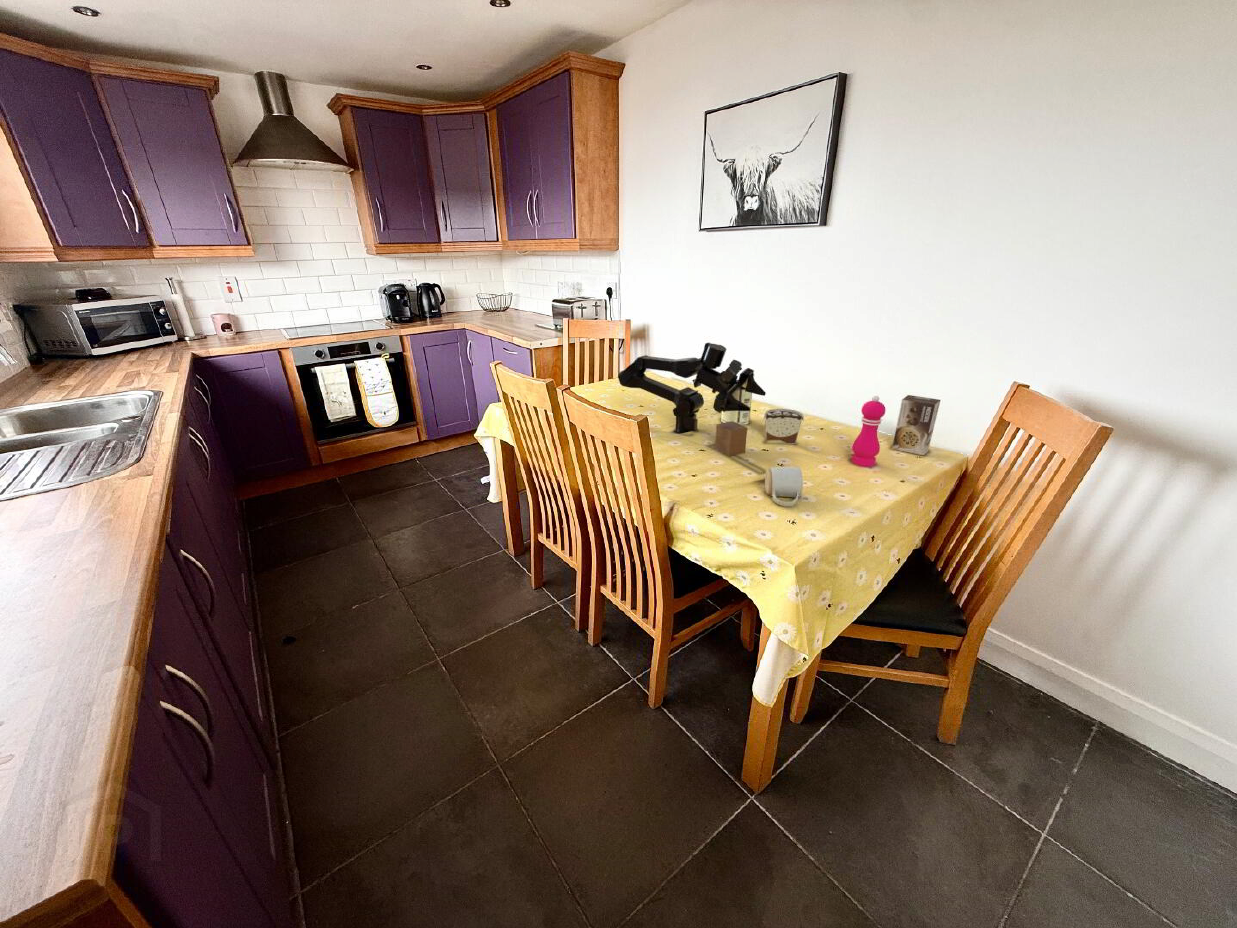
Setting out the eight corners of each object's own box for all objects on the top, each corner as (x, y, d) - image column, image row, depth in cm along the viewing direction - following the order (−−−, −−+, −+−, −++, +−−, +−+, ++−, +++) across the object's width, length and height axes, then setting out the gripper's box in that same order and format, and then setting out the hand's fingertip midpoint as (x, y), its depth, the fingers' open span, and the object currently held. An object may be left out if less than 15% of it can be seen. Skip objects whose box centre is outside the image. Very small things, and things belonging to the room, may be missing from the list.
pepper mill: (875, 459, 148) (888, 393, 140) (878, 468, 141) (892, 400, 133) (848, 456, 150) (860, 391, 142) (850, 465, 144) (863, 398, 136)
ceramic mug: (762, 487, 131) (765, 461, 128) (794, 488, 130) (798, 461, 127) (769, 507, 121) (773, 479, 118) (804, 508, 121) (809, 480, 117)
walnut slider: (714, 448, 153) (716, 424, 150) (730, 445, 156) (732, 421, 153) (729, 456, 147) (731, 431, 144) (745, 452, 150) (747, 427, 147)
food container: (796, 437, 165) (800, 408, 161) (800, 444, 159) (804, 414, 155) (758, 436, 166) (761, 407, 162) (761, 443, 161) (764, 413, 157)
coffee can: (726, 415, 188) (729, 378, 182) (753, 419, 183) (757, 381, 177) (716, 422, 180) (718, 384, 174) (743, 427, 175) (747, 388, 169)
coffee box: (929, 450, 154) (942, 399, 147) (923, 456, 149) (936, 404, 143) (896, 443, 159) (908, 394, 153) (890, 448, 155) (901, 398, 149)
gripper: (701, 374, 148) (747, 397, 141) (735, 345, 157) (779, 366, 151) (696, 402, 156) (739, 425, 150) (728, 373, 166) (770, 394, 159)
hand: (757, 401), depth 152 cm, fingers open, 9 cm apart
